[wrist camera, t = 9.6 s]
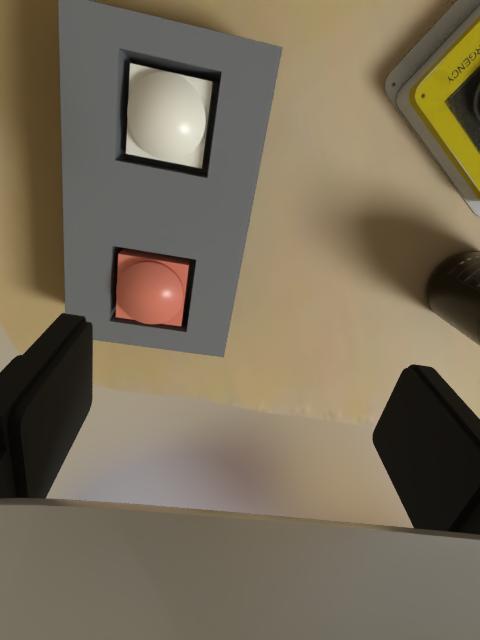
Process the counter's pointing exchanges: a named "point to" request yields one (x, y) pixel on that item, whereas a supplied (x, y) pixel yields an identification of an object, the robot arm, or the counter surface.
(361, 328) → the counter surface
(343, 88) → the counter surface
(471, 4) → the emergency button
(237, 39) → the button panel
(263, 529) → the robot arm
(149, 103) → the ivory button
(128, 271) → the red button
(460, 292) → the supplement bottle
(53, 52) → the counter surface
